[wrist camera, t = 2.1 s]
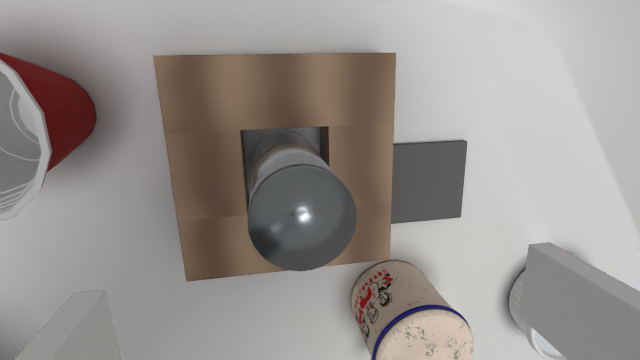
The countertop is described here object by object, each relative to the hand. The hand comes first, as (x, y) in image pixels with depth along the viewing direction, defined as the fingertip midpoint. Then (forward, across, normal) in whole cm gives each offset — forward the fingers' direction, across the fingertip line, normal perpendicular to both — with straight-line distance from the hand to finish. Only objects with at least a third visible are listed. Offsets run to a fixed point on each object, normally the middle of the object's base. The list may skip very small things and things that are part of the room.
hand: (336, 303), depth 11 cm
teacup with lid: (+22, +10, -17) cm, 30 cm away
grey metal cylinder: (+22, 0, 0) cm, 22 cm away
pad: (+22, +14, -3) cm, 26 cm away
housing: (+22, 0, 0) cm, 22 cm away
